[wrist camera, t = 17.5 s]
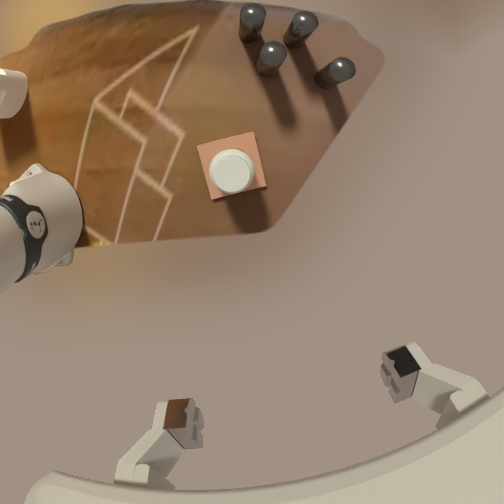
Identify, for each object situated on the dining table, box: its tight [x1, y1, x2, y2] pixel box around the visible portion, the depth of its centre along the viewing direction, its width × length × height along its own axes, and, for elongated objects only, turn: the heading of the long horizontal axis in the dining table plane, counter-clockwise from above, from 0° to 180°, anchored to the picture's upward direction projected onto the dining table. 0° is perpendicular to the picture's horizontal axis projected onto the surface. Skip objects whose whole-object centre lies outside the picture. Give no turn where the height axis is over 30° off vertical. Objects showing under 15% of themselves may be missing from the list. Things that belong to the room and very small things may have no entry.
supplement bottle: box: [209, 147, 255, 194], centre depth 34 cm, size 5×5×10 cm
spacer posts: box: [239, 3, 356, 89], centre depth 29 cm, size 12×12×8 cm
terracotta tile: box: [197, 132, 266, 199], centre depth 38 cm, size 8×8×1 cm
